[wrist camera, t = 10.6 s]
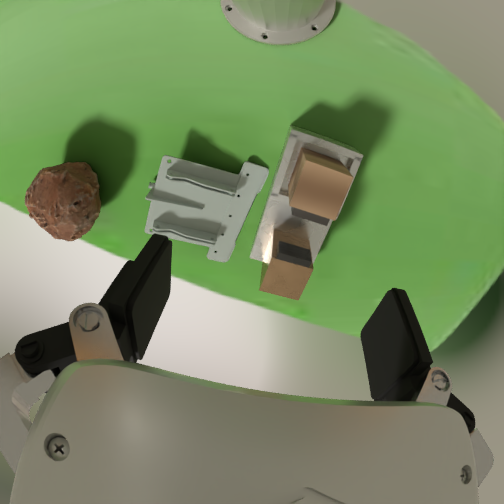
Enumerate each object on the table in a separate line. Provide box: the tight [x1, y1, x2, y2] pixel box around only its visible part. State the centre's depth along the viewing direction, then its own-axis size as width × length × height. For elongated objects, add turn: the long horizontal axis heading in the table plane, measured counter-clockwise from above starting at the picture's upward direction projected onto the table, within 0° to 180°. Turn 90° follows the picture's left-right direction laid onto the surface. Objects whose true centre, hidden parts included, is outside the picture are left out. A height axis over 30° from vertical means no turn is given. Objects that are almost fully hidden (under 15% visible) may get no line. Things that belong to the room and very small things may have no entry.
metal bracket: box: [145, 155, 269, 262], centre depth 35 cm, size 14×6×15 cm
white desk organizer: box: [250, 125, 363, 300], centre depth 31 cm, size 17×8×9 cm, turn 165°
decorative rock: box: [25, 162, 101, 241], centre depth 32 cm, size 13×11×10 cm
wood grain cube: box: [288, 147, 354, 226], centre depth 27 cm, size 5×5×6 cm
